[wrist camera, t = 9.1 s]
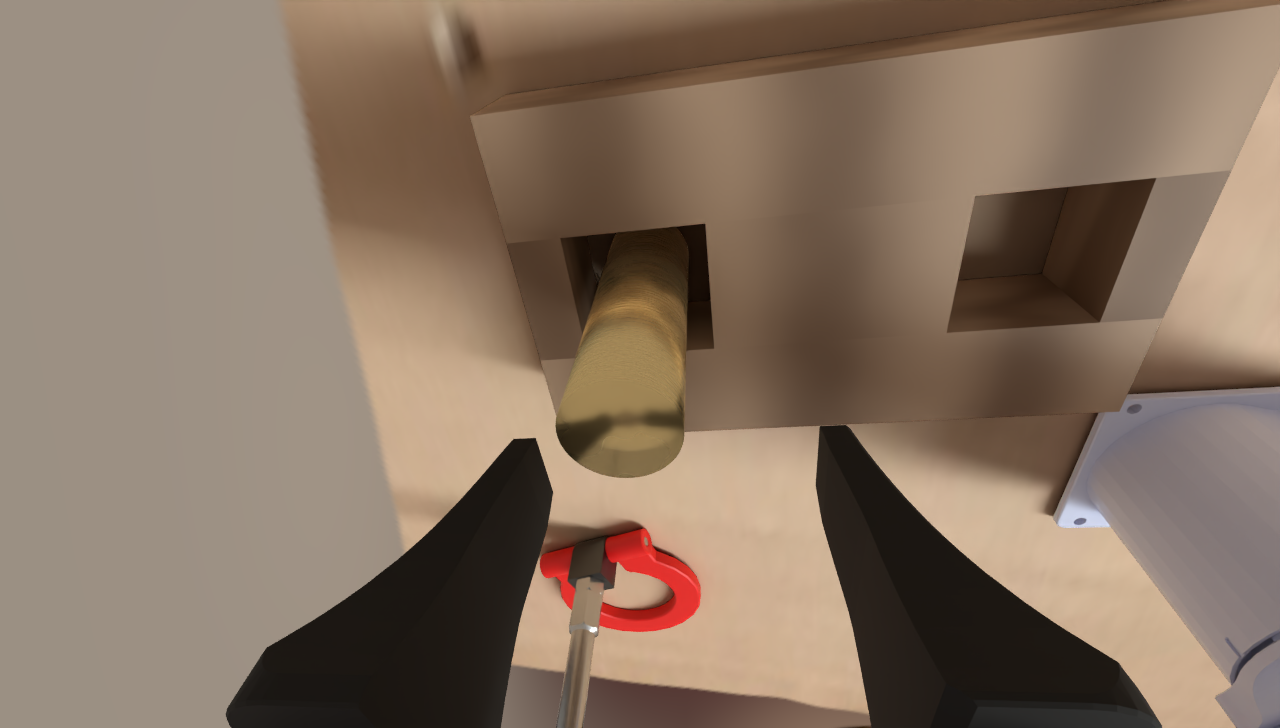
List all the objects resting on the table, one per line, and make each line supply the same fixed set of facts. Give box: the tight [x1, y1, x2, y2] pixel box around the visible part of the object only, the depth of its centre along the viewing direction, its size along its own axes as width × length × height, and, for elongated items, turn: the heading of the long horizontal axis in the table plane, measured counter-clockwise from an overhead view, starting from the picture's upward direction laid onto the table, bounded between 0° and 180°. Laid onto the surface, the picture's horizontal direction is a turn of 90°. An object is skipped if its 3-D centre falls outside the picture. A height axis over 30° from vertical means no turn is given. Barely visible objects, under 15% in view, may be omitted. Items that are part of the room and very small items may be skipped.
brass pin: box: [556, 227, 689, 478], centre depth 17 cm, size 3×3×10 cm
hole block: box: [470, 0, 1280, 432], centre depth 18 cm, size 20×12×4 cm, turn 98°
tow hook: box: [540, 529, 701, 728], centre depth 28 cm, size 8×13×9 cm
